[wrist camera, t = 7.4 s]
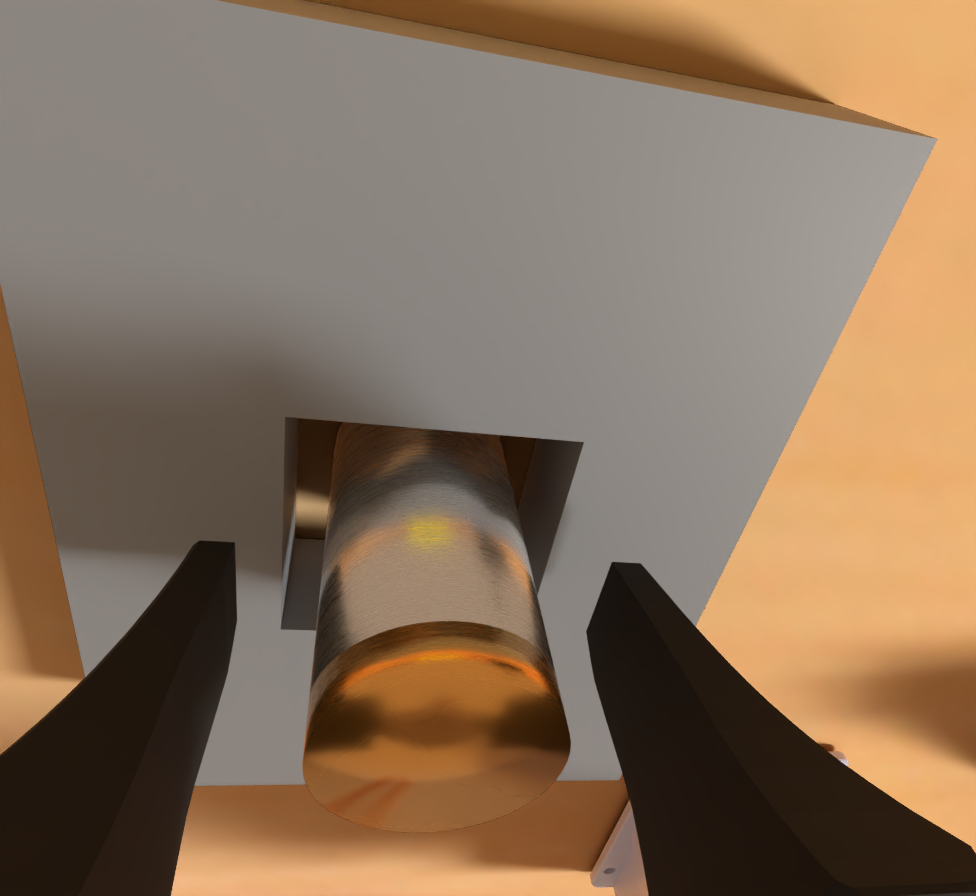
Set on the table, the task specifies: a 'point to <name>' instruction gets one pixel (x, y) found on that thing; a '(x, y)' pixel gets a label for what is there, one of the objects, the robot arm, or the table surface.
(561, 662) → the dock plate
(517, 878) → the table surface
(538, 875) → the table surface
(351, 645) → the glass jar with lid
